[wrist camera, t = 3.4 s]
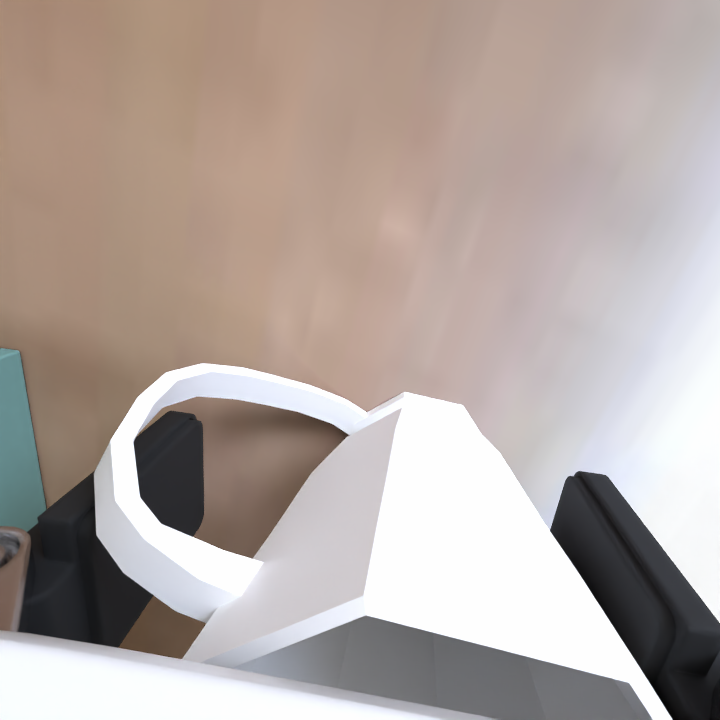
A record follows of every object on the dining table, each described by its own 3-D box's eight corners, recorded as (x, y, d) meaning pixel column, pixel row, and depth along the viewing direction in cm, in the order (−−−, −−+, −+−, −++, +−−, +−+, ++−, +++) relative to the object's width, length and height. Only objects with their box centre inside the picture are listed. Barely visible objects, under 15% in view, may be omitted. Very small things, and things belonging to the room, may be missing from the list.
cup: (439, 587, 14) (466, 1012, 7) (180, 424, 13) (-125, 705, 6) (594, 440, 12) (907, 843, 4) (291, 229, 11) (20, 276, 3)
